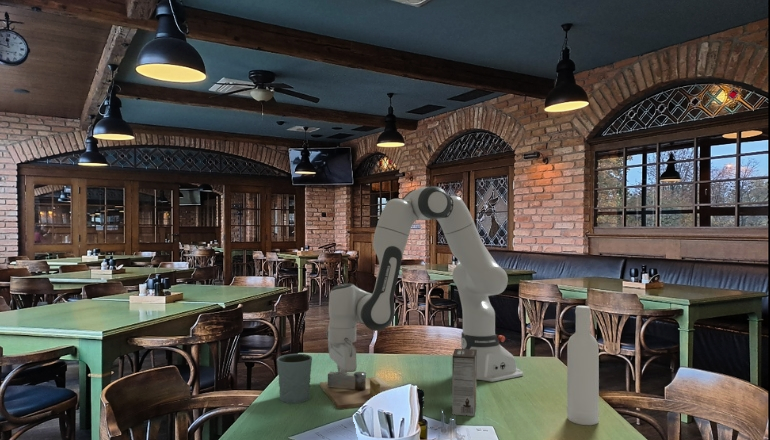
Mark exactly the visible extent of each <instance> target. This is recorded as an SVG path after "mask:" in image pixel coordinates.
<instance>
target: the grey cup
mask: <svg viewBox="0 0 770 440" xmlns="http://www.w3.org/2000/svg"><path fill="white" fill-rule="evenodd" d="M312 361H313V356H311V355H309V354H304V353H289V354H284V355H281V356H279V357H277V359H276V365H277V374H278V386H279V400H280V401H281V402H282V403H287V404H299V403H304V402H306V401H308V400H309V399H310V387H311V384H310V383H311V374H312V373H311V372H312Z"/></svg>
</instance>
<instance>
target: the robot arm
mask: <svg viewBox="0 0 770 440" xmlns="http://www.w3.org/2000/svg"><path fill="white" fill-rule="evenodd" d="M378 218H379V219H378V220H377V225H376V228H375V231H374V235H373V241H372V248H373V250H374V252H375V254H376V256H377V260H378V265H379V266H378V271H377V272H378V273H377V277H376V280H375V284H374V289H373V292H372V293H371V292H368V291H365V290H363V289H362V288H359V287H358V286H356V285H355V284H354V283H341V284H337V285H335V286H333V287H332V288H331V289H330V293H329V297H328V316H329V322H328V329H327V330H326V338H327V345H328V346H327V348H328V355H329V359H330V360H332V361H333V362H334V363H335V364H336V368H337V372H342V373H355V372H357V367H358V366H357V365H358V363H357V349H356V346H355V345H353V343H355V342H357V324H358V323H363V324H364V325H365V327H366V328H367V329H369V330H370V331H374V332H375V331H376V332H379V331H383V330H385V329H387V328H388V327H389V326H390V325H391V324H392V322H393V320H394V317H395V305H394V304H395V303H394V298H395V292H396V289H397V283H398V280H399V276H400V270H401V265H402V260H403V256H404V253H405V250H406V246H407V243H408V240H409V236H410V234H411V229H412V227H413V224H414V223H415V222H416V221H430V220H437V222H438V223H439V225H440V227H441V230H442V232H443V235H444V238H445V240H446V243H447V245H448V247H449V250H450V252H451V253H452V255H453V256H454V257H455V258H456V260H458V262H459V263H458V264H457V265H456V266H455V267H454V269H453V271H452V280H453V283H454V284H455V286H456V287H457V292H458V295H459V300H460V304H461V310H462V332H461V335H460V336H461V338H460V342H461V343H460V345H461V349H476V350H477V374H476V381H477V380H479V381H485V382H493V383H494V382H497V381H499V382H500V381H503V380H508V379H513V378H518V377H523V376H524V372H523V370H521V369H519V368H518V367H517V363H516V359H515V357H514V355H513V354H512V353H511V352H509V351H508V350H507V349H506V348H505V347H503V346H502V345H501V344H500V342H502V343H504V342H505V340H506V337H505V336H504V335H501V334H500V335H498V334H496V311H495V309H494V307H493V306H492V304H491V302H490V298H489V297H490V296H497V295H500V294H502V293H503V292H504V291H505V290H506V288H507V286H508V281H509V278H508V274H507V272H506V271H505V269H504V268H503V267H501V266H500V265H499V264H498V263H497V262H496V260H495V259H494V258H493V256H492V255H491V253H490V252H489V250H488V249H487V247H486V246H485V244H484V242H483V240H482V238H481V236H480V234H479V231H478V229H477V226H476V223H475V221H474V218H473V217H472V215H471V212H470V210H469V209H468V206H467V205H466V203H465V202H464V200H463V199H462V198H461V197H460V196H457V195H449V194H448V193H447V191H446V190H444V189H443V188H441V187H439V186H421V187H419V188H417V189H412V190H410V191H409V192H407V193H406V194H405V195H404V196H403V197H402V198H393V199H390V200H388V201H387V202H386V204H385V205H384V207H383V210H382V211H381V214H380V215H379V217H378Z"/></svg>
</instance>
